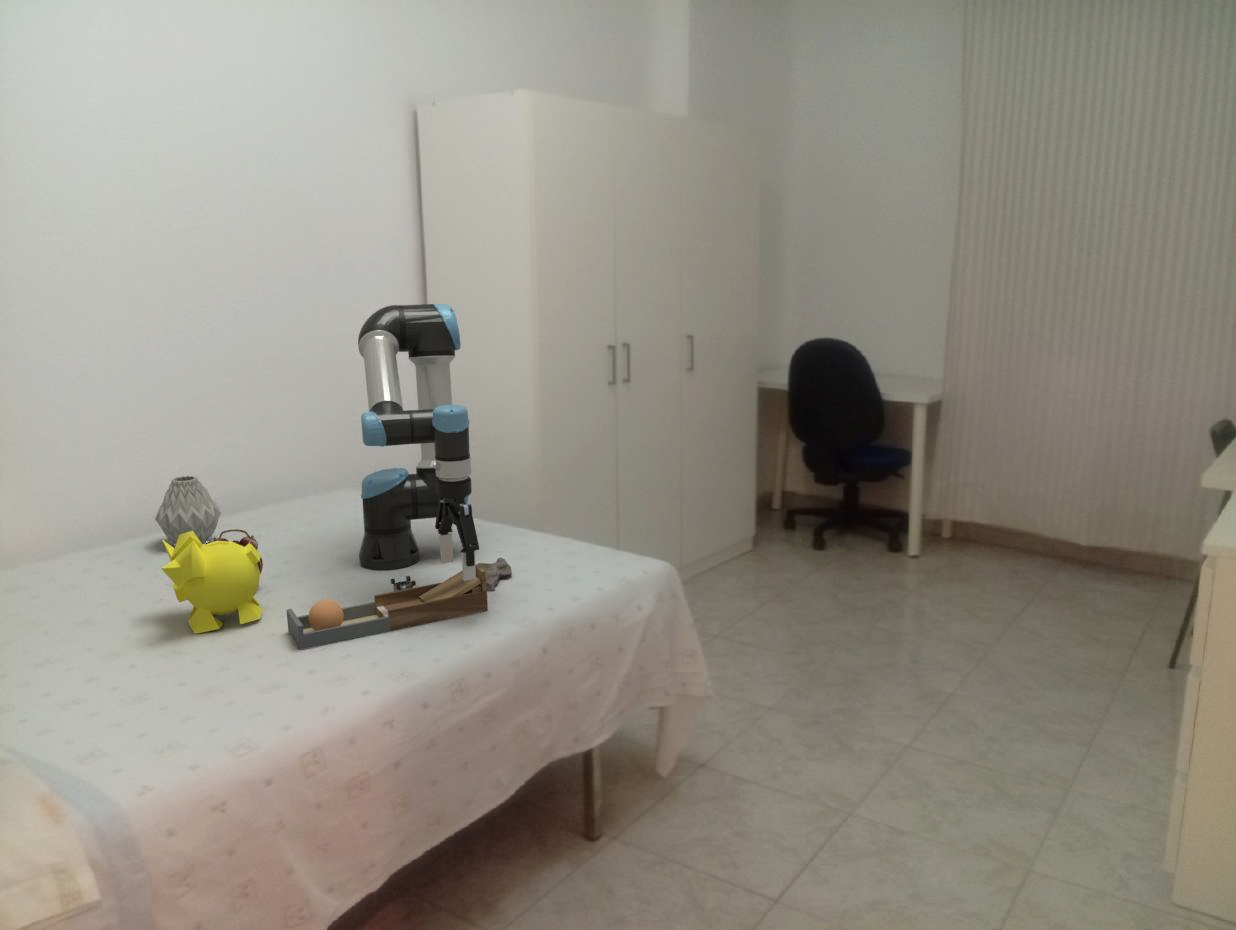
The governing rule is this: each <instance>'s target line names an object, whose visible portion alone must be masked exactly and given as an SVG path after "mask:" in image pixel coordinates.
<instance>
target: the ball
mask: <svg viewBox="0 0 1236 930" xmlns="http://www.w3.org/2000/svg"><path fill="white" fill-rule="evenodd" d="M342 608H343V607H341V605H340V604H339V603H338V602H336V601H335V600H331V599H322V600H319V601H318V602H316V603H314V604H313V605H312V606H311V608H310V609H309V612H308V614H309V616H308V618H309V623H310V625H311V627H312V628H313V629H314V630H315V631H317V630H322V629H327V628H332V627H337V626H341V624H342V622H343V618H344V614H343V610H342Z"/></svg>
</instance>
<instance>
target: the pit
mask: <svg viewBox="0 0 1236 930" xmlns="http://www.w3.org/2000/svg"><path fill="white" fill-rule="evenodd" d="M341 608H342V610H343V614H344V618H343V622H342V624H341V626H337V627H332V628H327V629H322V630H317V631H315V630H314V629H313V628H312V627H311V625H310V623H309V618H308V616H309V613H308V614H304V615H300V616H297V614H296V613H295V612H294V610H293V609H292V608H288V609H285V610H286V619H287V629H288V630H287V631H288V633H289V636H290V637H291V638H292V640H293V641H294V643H295V645H296V646H297V647H298V650H299V651H300V650H301V651H302V650H304V649H305V650H306V649H309V648H315V647H319V646H324V645H330V644H334V643H338V642H339V643H340V642H344V641H349V640H354V639H357V638H362V637H368V636H372V635H376V634H377V635H378V634H381V633H386V632H391V631H390V619H389V617H388V616H387V617H382V618H379V617H378V616H377V615H376V603H375V601H371V602H367V603H362V604H355V605H350V606H346V607H341Z"/></svg>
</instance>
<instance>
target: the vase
mask: <svg viewBox="0 0 1236 930" xmlns="http://www.w3.org/2000/svg"><path fill="white" fill-rule="evenodd" d="M162 500H163V501H162V504H161V505H160V506H159V507H158V510H157V513H156V514H155V518H154V520H155V521H156V523H157V524H158V525H159V527H160V528H161V530H162V532H163V534H164V535H165V536H166V538H167V539H168V540H169V541H170V542H172V545H174V544H175V545H176V543H177V540H178V537H179V535H180V534H184V533H187V532H190V531H193V532H194V533H195V535H196V536H197V537H198V539H199V540H200V542H201V543H202V544H205V543H206V541H209V542H210V538H211V537H212V536H213V534H214V533H215V531H216V529H217V526H218V523H219V519H220V517H221V515H222V511H221V508H220V507H219V506H218V504H217V502H216V501H215V500H214V499H212V497H211V494H210V492H209V490H208V488H206V487H205V486H204V485H203V484H202V482H201V481H200V480H198V476H194V475H187V476H184V475H183V476H178V477H177V476H176V478H172V479H171V483H170V484H169V486H168V489H167V490H166V491H165V492H164V496H163V499H162Z"/></svg>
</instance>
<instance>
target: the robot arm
mask: <svg viewBox="0 0 1236 930" xmlns="http://www.w3.org/2000/svg"><path fill="white" fill-rule="evenodd" d="M459 329H460V328H459V323H458V319H457V317H456V313H455V310H454V309H453V307H452V306H451V305H450V304H441V303H425V304H402V305H401V304H400V305H399V304H394V305H393V304H392V305H388V306H387V305H386V306H384V307H382V308H380V309H378V310H376V311H375V312H373V313H372V314H371V315H369V317H368V318H367V319H366V321H365V322H364V323H363V325H362V326H361V328H360V331H359V334H358V338H357V339H358V340H357V345H358V352H359V353H360V354H359V355H360V356H361V357H362V358H363V363H364V373H365V384H366V393H367V403H368V412H363V413H362V414H361V416H360V419H361V421H360V422H361V435H362V436H361V437H362V443H363V445H364V446H367V447H388V446H389V447H390V446H403V445H419V444H420V455H421V459H420V460H419V462H418V463H417V464H416V466H415V469H416V470H415V472H416V473H410V474H409V471H408V469H407V468H404V467H398V468H397V467H392V468H386V469H381V470H378V471H374V472H371V473H370V474H368V475H366V476H365V477H363V478H362V481H361V494H360V497H361V499H362V515H363V516H362V517H363V518H362V519H363V529H364V533H363V534H364V535H363V538H362V541H361V545H360V550H359V555H358V560H359V565H360V566H361V567H363V568H366V569H369V570H370V569H371V570H396V569H401V568H406V567H410V566H411V565H412V566H413V565H415V564H416V563H418V562H419V561H420V559H421V556H420V555H421V554H420V553H421V552H420V547H419V545H418V543H417V540H416V538H415V536H414V533H413V531H412V520H413V521H414V520H425V519H435V525H434V527H435V530H437V533H438V535H439V551H440V552H439V553H440V555H439V556H440V564H447V563H452V562H454V552H453V551H454V548H453V534H452V533H453V532H454V530H453V525H455V526H456V530H457V533H458V536H459V540H460V544H461V546H462V548H461V550H460V553H461V568H462V569H461V571H462V570H463V580H464V581H467V580H472V579H476V567H475V564H476V551H479V550H480V545H479V544H480V543H479V540H478V534H477V531H476V526H475V522H474V516H473V508H472V504H471V503H470V504H469V503H468V501H469V496H471V494H472V491H473V489H472V478H471V477H470V476H471V474H472V462H471V461H472V460H471V454H470V453H471V452H470V428H469V426H470V420H469V412H468V409H467V407H466V406H464V405H459V404H453V397H452V381H451V379H452V378H451V366H450V365H451V362H452V361H453V360H454V359H455V358H456V351H459V350H461V347H462V346H461V334H460V330H459ZM399 352H401V353H403V352H404V353H405V352H406V353H408V354H407V355H408V360H409V361H410V362H411V363H412V364H413V365H414V366H415V377H416V378H415V379H416V380H415V381H416V395H417V409H414V410H413V409H411V410H408V409H407V410H404V406H403V399H402V398H403V397H402V391H401V383H400V376H399V368H398V361H397V355H398V353H399Z"/></svg>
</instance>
